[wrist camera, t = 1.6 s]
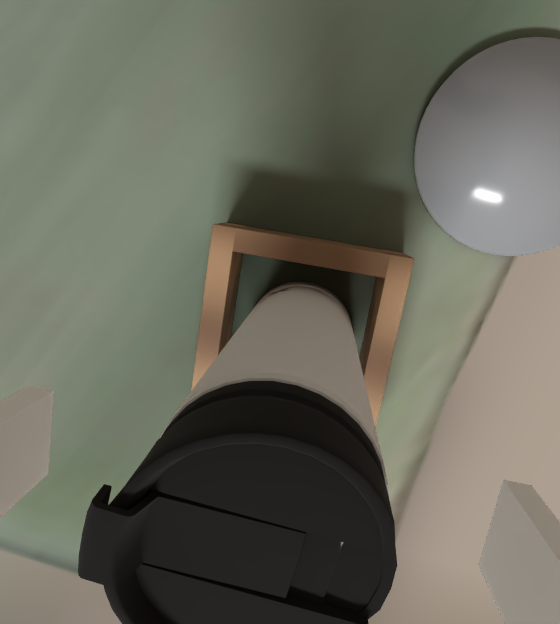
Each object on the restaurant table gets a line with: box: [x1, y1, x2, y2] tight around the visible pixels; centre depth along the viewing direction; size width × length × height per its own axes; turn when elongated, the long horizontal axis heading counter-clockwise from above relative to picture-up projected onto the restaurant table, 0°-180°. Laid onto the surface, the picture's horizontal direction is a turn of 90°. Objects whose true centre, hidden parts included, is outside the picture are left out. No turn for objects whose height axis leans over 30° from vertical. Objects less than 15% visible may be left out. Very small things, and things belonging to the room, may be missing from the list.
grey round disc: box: [413, 37, 560, 256], centre depth 25 cm, size 11×11×1 cm
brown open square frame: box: [191, 223, 414, 428], centre depth 27 cm, size 11×10×4 cm
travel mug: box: [78, 282, 397, 624], centre depth 19 cm, size 6×7×20 cm
